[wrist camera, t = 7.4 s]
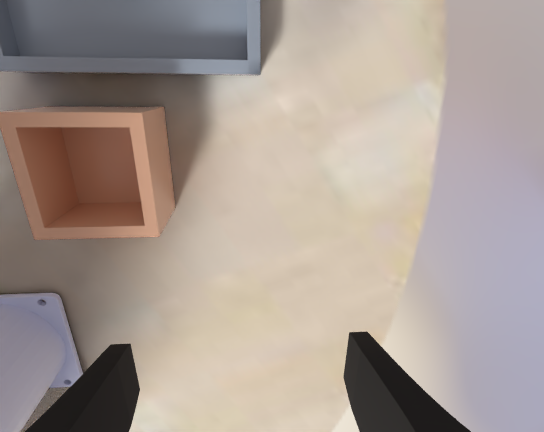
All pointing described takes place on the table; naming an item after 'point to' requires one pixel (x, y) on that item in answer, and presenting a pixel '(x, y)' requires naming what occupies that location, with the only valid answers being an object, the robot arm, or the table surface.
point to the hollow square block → (91, 170)
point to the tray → (131, 36)
